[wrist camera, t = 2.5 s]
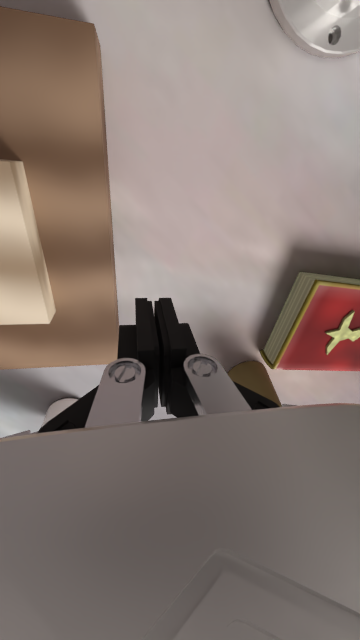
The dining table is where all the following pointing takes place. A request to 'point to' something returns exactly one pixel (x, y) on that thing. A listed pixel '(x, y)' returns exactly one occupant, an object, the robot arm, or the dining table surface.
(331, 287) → the hardcover book
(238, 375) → the cork
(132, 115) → the dining table surface
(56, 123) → the walnut board
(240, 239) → the dining table surface
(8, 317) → the birch tile
